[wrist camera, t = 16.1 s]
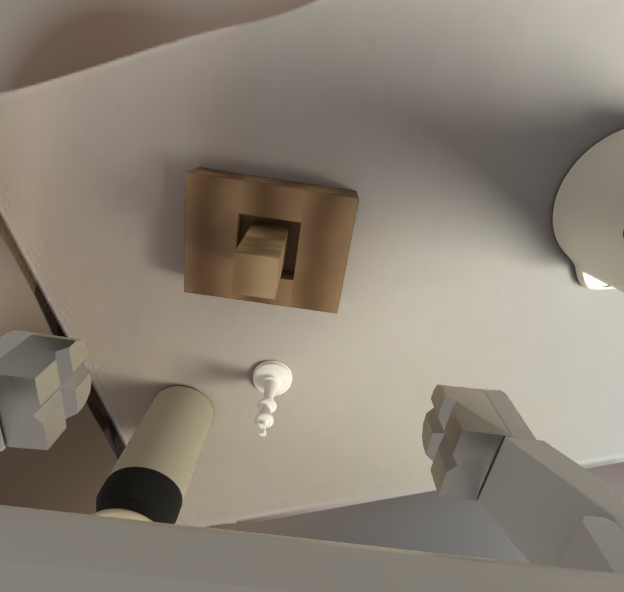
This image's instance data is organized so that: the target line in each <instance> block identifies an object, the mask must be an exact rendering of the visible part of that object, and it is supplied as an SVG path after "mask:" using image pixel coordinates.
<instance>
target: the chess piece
mask: <svg viewBox="0 0 624 592" xmlns="http://www.w3.org/2000/svg"><path fill="white" fill-rule="evenodd" d="M253 382H254V385H255V387H256V388H257V389H258V390H259V391H260V392H262V393H264V399H261V400H260V401H259V402H258V409H259V411H260V412H259V413H258V414H257V416H256V417H255V423H256V424H257V426H259V427H260V432H259V434H260V436H266V429H265V428H269V427H270V426H272V424H273V422H274V419H273V416H272V413H273V412H274V411H275V410H276V403H275V402H274V401H273V399H274V396H275V395H280V394H282V393H284V392H286V391H287V390H288V389H289V387H290V385H291V382H292V373H291V371H290V369H289V368H288V367H287V366H286V365H285V364H283V363H281V362H279V361H273V360H270V361H265V362H262V363H260V364H259V365H258V366H257V367H256V368H255V370H254V372H253Z"/></svg>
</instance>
